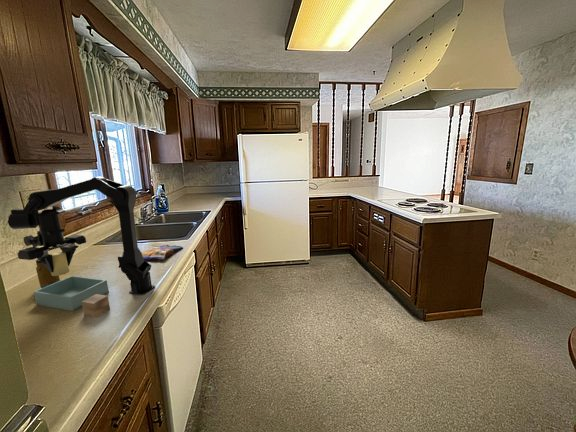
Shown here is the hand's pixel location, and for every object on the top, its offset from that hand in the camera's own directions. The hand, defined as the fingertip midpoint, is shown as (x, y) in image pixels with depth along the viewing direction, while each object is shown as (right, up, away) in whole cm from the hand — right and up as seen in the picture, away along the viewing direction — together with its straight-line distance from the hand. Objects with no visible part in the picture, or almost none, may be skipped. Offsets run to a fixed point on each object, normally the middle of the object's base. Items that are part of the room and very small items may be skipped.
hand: (59, 269), depth 97 cm
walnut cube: (+19, -13, -8) cm, 24 cm away
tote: (+4, -11, +1) cm, 12 cm away
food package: (+15, -2, +46) cm, 48 cm away
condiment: (-12, -9, +11) cm, 19 cm away
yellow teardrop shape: (0, -1, 0) cm, 2 cm away
